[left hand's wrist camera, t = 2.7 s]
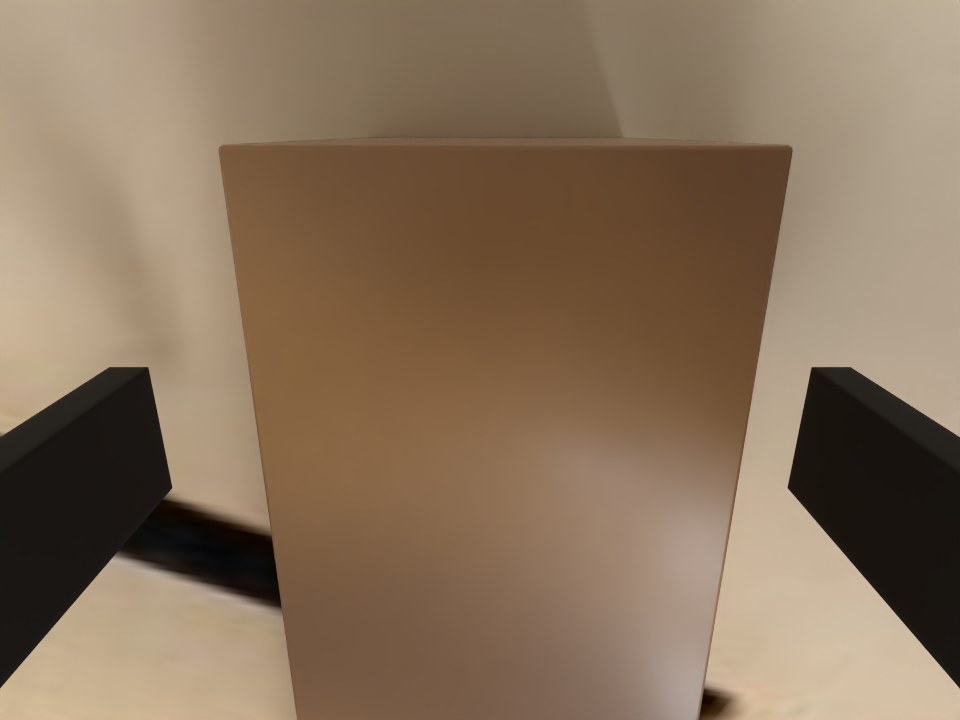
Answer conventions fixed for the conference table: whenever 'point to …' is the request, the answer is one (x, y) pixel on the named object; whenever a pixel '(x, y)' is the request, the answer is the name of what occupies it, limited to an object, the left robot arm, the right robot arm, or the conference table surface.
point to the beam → (502, 412)
